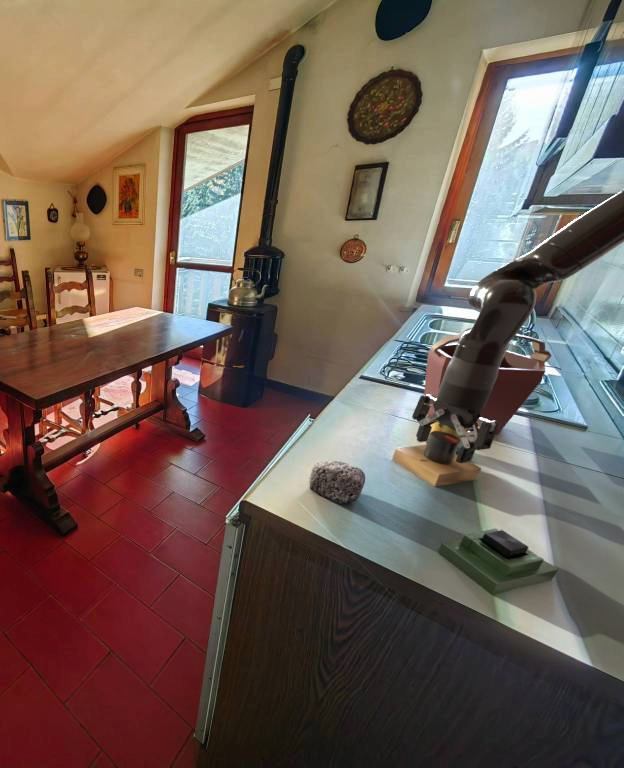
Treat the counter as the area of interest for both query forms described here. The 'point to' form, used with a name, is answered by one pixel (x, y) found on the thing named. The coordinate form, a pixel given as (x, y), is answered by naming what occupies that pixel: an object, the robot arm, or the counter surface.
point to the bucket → (510, 385)
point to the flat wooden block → (434, 467)
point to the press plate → (504, 544)
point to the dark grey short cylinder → (441, 447)
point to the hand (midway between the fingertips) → (440, 451)
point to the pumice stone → (337, 481)
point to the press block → (495, 564)
